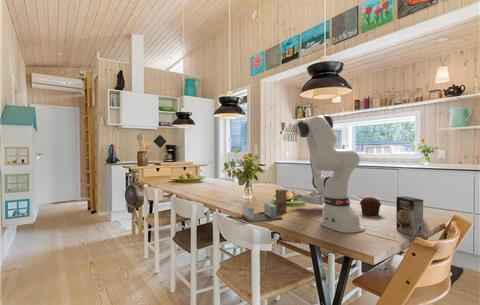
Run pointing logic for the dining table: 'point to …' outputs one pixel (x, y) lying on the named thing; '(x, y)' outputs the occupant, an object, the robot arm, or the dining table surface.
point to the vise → (254, 214)
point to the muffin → (370, 206)
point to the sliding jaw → (270, 210)
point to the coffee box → (410, 215)
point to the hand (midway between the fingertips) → (296, 198)
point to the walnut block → (281, 201)
